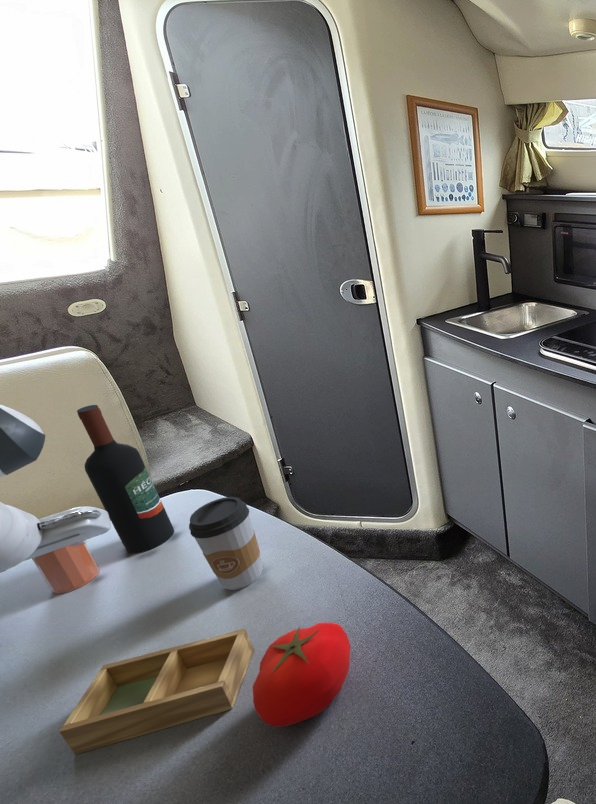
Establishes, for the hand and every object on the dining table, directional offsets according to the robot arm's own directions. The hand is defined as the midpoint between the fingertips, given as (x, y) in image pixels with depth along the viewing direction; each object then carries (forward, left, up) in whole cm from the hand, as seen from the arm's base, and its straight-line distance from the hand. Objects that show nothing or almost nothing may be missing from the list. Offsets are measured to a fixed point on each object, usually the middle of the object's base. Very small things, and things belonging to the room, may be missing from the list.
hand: (41, 554), depth 82 cm
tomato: (+45, -32, -11) cm, 56 cm away
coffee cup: (+28, -4, -11) cm, 30 cm away
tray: (+26, -26, -11) cm, 38 cm away
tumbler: (-2, +6, -11) cm, 13 cm away
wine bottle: (+6, +14, -11) cm, 19 cm away
